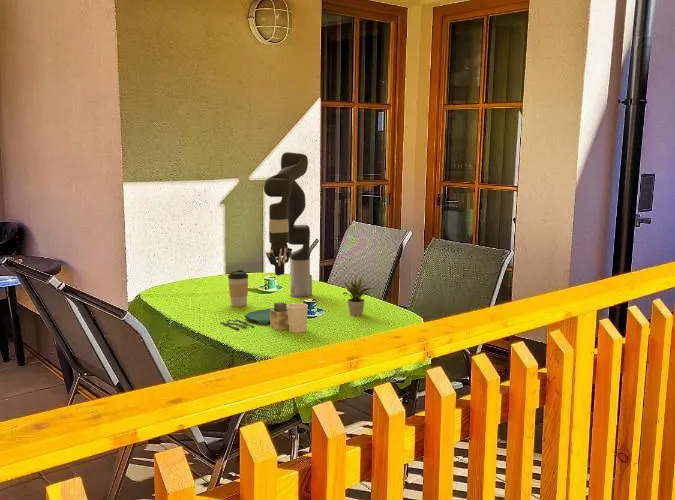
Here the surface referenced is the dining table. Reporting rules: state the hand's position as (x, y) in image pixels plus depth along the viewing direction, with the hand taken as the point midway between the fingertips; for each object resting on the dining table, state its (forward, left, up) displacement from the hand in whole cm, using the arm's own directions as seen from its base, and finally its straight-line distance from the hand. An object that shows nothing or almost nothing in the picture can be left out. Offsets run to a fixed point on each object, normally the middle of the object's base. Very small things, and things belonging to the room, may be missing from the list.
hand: (279, 274), depth 271 cm
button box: (0, 0, -21) cm, 21 cm away
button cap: (0, 0, -14) cm, 14 cm away
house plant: (-34, +2, -21) cm, 40 cm away
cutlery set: (+2, -14, -22) cm, 26 cm away
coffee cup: (-3, -43, -21) cm, 48 cm away
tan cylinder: (-3, +8, -21) cm, 23 cm away
